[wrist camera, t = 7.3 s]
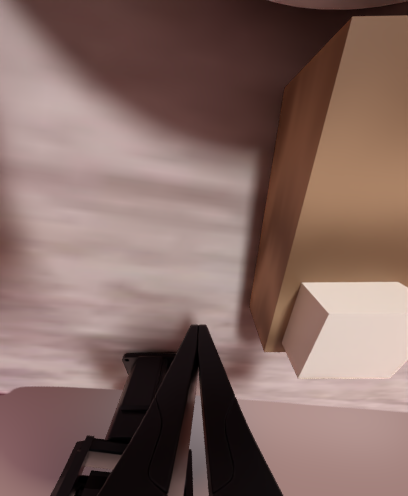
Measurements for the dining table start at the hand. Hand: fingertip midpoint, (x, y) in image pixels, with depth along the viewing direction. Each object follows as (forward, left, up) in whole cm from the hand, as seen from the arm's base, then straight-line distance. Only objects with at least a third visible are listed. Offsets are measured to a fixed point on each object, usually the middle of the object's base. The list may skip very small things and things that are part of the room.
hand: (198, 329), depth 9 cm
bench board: (+4, -9, -5) cm, 11 cm away
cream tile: (0, -8, -1) cm, 8 cm away
